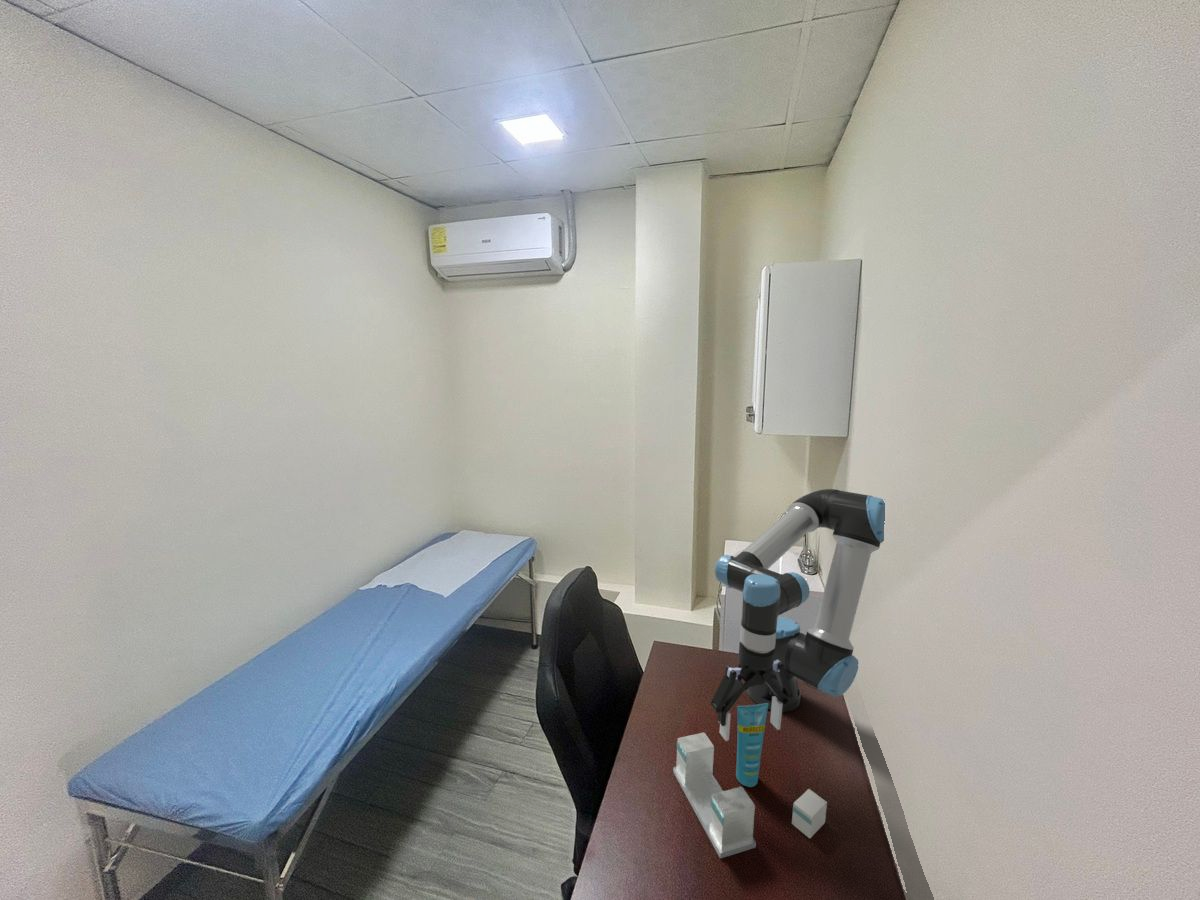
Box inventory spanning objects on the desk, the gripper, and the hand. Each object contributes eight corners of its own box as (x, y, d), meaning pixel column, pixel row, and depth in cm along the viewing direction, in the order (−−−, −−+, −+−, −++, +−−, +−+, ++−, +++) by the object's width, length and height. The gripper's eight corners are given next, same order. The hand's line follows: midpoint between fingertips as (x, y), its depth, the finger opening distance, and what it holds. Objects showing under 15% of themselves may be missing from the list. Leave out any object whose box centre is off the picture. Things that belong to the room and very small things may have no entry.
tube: (738, 790, 105) (743, 713, 102) (727, 772, 109) (732, 699, 107) (767, 784, 106) (773, 708, 104) (755, 767, 111) (761, 694, 108)
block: (806, 808, 100) (808, 788, 100) (824, 823, 97) (827, 802, 97) (791, 824, 97) (793, 803, 96) (809, 839, 94) (811, 818, 93)
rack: (703, 764, 112) (705, 730, 110) (755, 847, 92) (758, 806, 90) (673, 771, 109) (674, 737, 108) (720, 858, 89) (722, 817, 88)
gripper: (792, 629, 110) (784, 710, 113) (698, 642, 103) (693, 729, 106) (815, 646, 103) (806, 732, 106) (716, 661, 96) (710, 754, 99)
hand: (750, 731), depth 106 cm, fingers open, 13 cm apart
